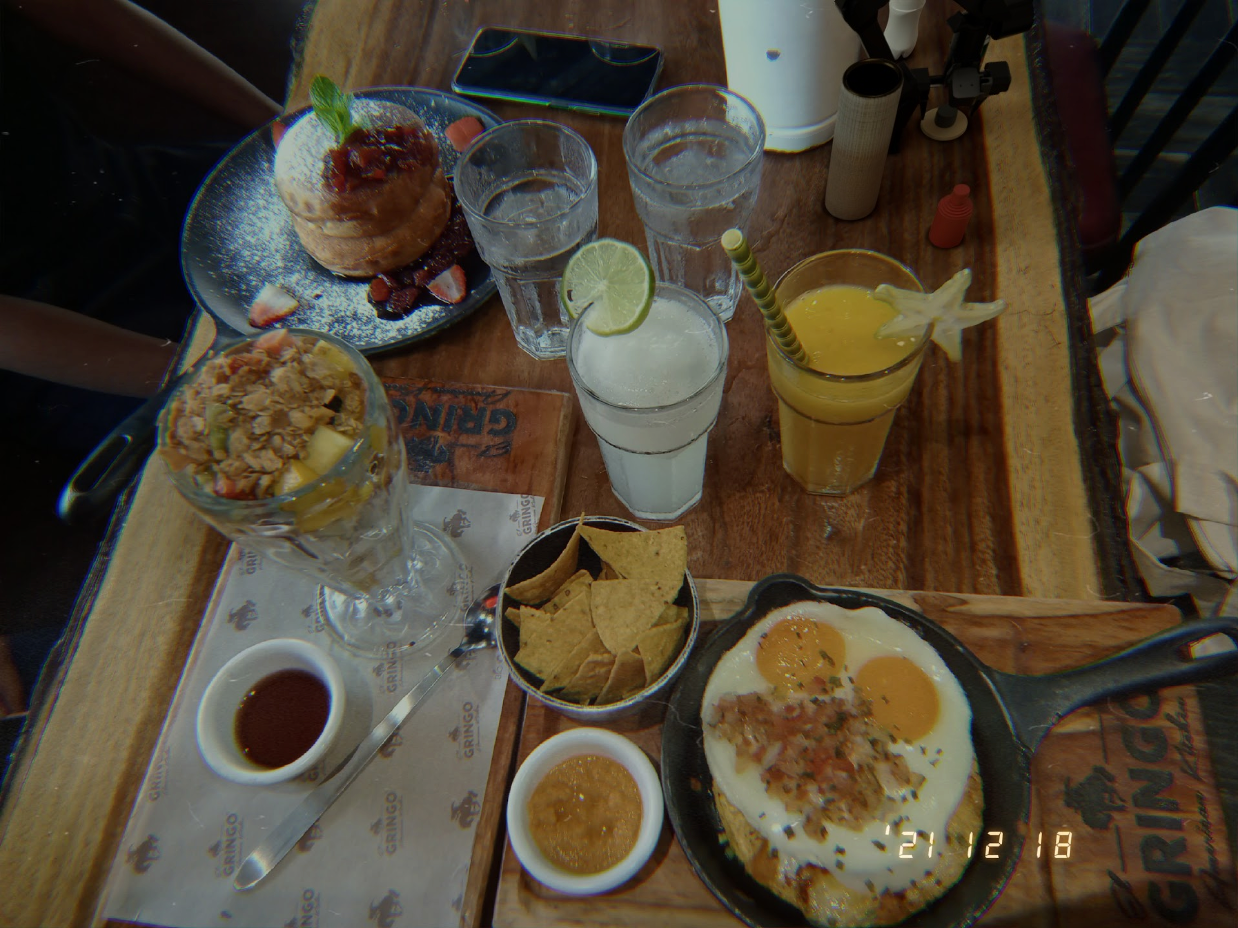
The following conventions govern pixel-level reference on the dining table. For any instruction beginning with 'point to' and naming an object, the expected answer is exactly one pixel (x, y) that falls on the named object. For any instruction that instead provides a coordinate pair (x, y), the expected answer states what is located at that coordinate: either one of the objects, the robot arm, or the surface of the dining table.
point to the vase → (862, 136)
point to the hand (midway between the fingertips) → (945, 117)
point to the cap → (945, 116)
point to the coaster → (943, 133)
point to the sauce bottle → (951, 218)
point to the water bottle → (903, 26)
